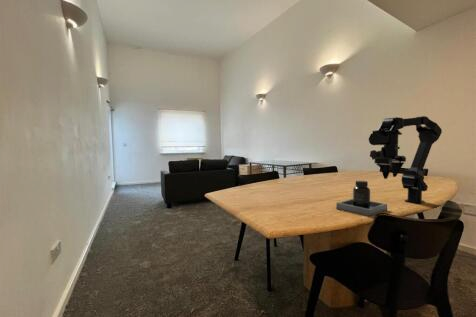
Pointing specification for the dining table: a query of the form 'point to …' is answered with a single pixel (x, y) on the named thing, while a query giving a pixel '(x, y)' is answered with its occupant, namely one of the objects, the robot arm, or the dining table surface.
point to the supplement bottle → (361, 195)
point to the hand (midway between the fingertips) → (390, 177)
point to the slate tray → (373, 210)
